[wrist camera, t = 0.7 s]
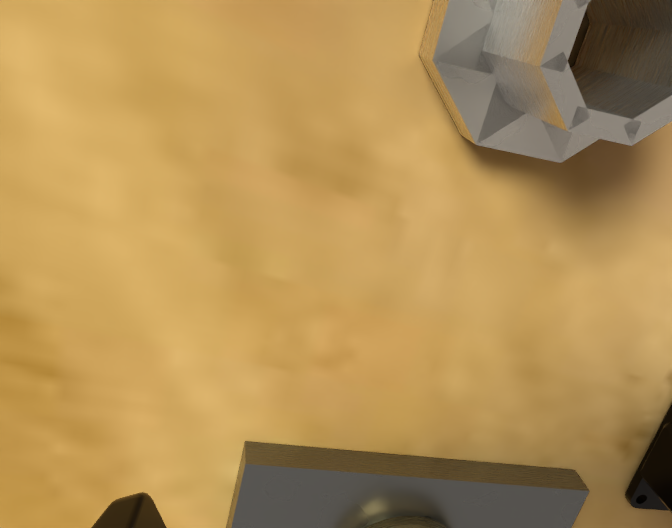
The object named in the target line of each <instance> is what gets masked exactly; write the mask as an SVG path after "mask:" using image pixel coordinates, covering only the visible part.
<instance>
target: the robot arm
mask: <svg viewBox="0 0 672 528" xmlns="http://www.w3.org/2000/svg"><path fill="white" fill-rule="evenodd" d="M625 496H626V499H627V500H628V502H629V503H630V504H631V505H632V506H633V507H635V508H643V509H657V510H669V511H670V512H671V513H672V405H671V407H670V409H669V411H668V413H667V415H666V417H665V419H664V421H663V422H662V424H661V426H660V428H659V430H658V432H657V434H656V436H655V438H654V440H653V442H652V443H651V445H650V447H649V449H648V451H647V453H646V455H645V457H644V459H643V461H642V462H641V464H640V466H639V468H638V470H637V472H636V474H635V476H634V478H633V480H632V482H631V483H630V485H629V487H628V489H627V491H626V494H625ZM92 528H166V526H165V524H164V522H163V520H162V518H161V516H160V514H159V512H158V510H157V508H156V506H155V504H154V502H153V500H152V498H151V497H150V496H149V495H148V494H147V493H143V492H142V493H137V494H134V495H130V496H127V497H123V498H119V499H117V500H115V501H113V502H112V503H111V504H110V505H109V506H108V508H107V509H106V510H105V511H104V513H103V514H102V515H101V516H100V518H99V519H98V520H97V521H96V523H95V524H94V525H93V526H92Z"/></svg>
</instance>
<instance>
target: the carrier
mask: <svg viewBox="0 0 672 528" xmlns="http://www.w3.org/2000/svg"><path fill="white" fill-rule="evenodd" d="M588 493H589V490H588V488H587V487H586V485H585V484H584V483H583V481H582V480H581V478H580V477H579V475H578V474H577V472H576V471H575V470H568V469H557V468H545V467H534V466H522V465H511V464H499V463H488V462H476V461H465V460H453V459H442V458H430V457H419V456H407V455H396V454H384V453H373V452H361V451H350V450H338V449H327V448H315V447H304V446H292V445H281V444H269V443H258V442H246V441H245V444H244V448H243V453H242V458H241V462H240V467H239V471H238V476H237V481H236V485H235V490H234V494H233V499H232V503H231V508H230V513H229V517H228V522H227V526H226V528H571V527H572V525H573V523H574V521H575V519H576V517H577V515H578V513H579V511H580V509H581V507H582V505H583V503H584V501H585V499H586V497H587V495H588Z"/></svg>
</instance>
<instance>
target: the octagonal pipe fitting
mask: <svg viewBox="0 0 672 528" xmlns="http://www.w3.org/2000/svg"><path fill="white" fill-rule="evenodd" d="M585 11H586V13H587V16H588V18H589V21H590V24H589V27H588V30H587V32H586V35H585V38H584V41H583V43H582V46H581V49H580V52H579V54H578V57H577V60H576V63H575V65H574V66H572V67H570V66H569V64H568V58H569V56H570V53H571V50H572V47H573V44H574V42H575V39H576V36H577V33H578V30H579V28H580V25H581V22H582V19H583V16H584V14H585ZM419 56H420V58H421V60H422V62H423V64H424V66H425V68H426V70H427V71H428V73H429V75H430V77H431V79H432V81H433V83H434V85H435V87H436V89H437V91H438V92H439V94H440V96H441V98H442V100H443V102H444V104H445V106H446V108H447V110H448V112H449V113H450V115H451V117H452V119H453V121H454V123H455V125H456V127H457V129H458V131H459V133H460V134H461V135H462V136H463V137H465V138H466V139H468V140H469V141H471V142H472V143H474V144H475V145H478V146H483V147H488V148H493V149H497V150H502V151H507V152H511V153H516V154H521V155H525V156H530V157H535V158H540V159H544V160H549V161H554V162H558V163H562V162H563V161H565V160H567V159H568V158H570V157H571V156H573V155H575V154H576V153H578V152H579V151H581V150H583V149H584V148H586V147H587V146H589V145H591V144H592V143H594V142H596V141H597V140H599V139H603V140H607V141H612V142H616V143H621V144H625V145H629V146H632V145H634V144H636V143H637V142H639V141H640V140H642V139H644V138H645V137H647V136H649V135H650V134H652V133H653V132H655V131H657V130H658V129H660V128H661V127H663V126H665V125H666V124H668V123H670V122H671V121H672V0H433V4H432V8H431V12H430V15H429V19H428V23H427V26H426V30H425V34H424V37H423V41H422V45H421V49H420V52H419Z"/></svg>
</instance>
